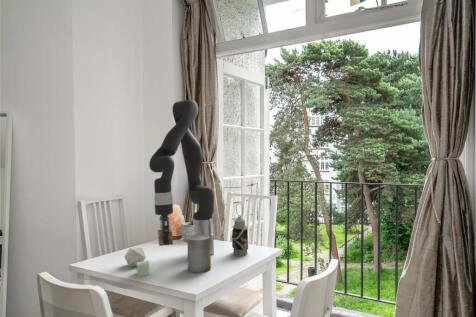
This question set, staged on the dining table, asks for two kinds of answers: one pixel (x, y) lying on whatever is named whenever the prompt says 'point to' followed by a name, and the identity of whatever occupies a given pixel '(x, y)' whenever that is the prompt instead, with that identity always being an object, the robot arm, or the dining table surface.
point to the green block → (142, 268)
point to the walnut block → (160, 237)
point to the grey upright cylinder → (199, 253)
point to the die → (134, 256)
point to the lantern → (240, 236)
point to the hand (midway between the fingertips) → (165, 242)
